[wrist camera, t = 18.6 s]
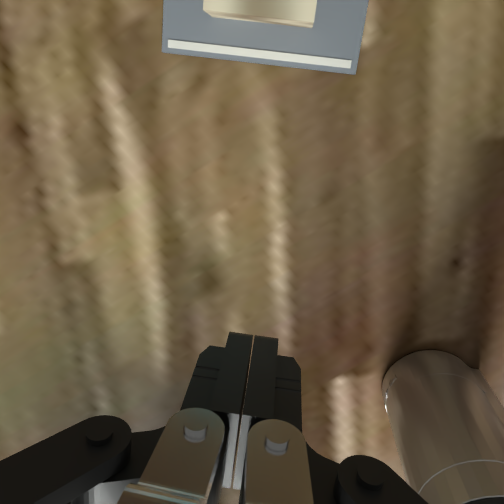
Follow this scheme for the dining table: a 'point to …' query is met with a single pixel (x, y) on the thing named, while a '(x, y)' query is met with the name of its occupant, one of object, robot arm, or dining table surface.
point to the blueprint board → (269, 36)
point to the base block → (264, 11)
